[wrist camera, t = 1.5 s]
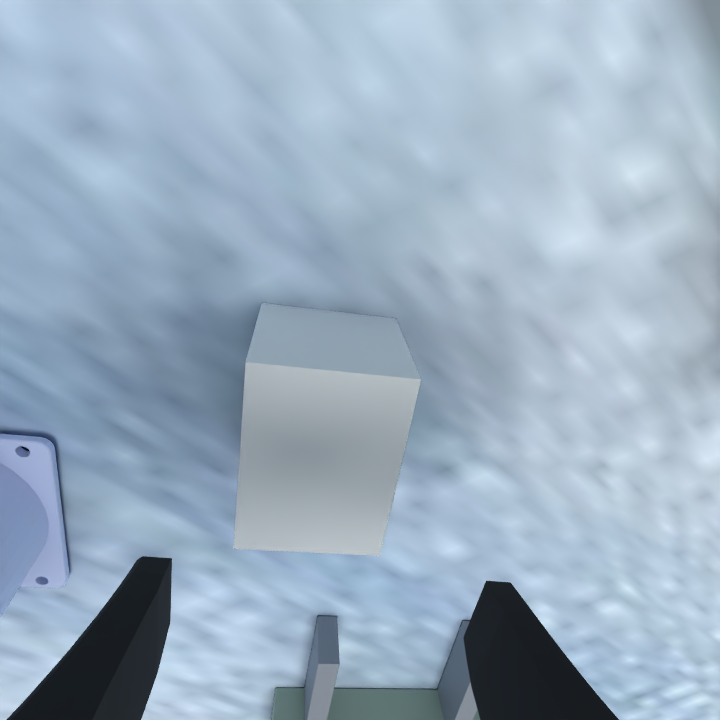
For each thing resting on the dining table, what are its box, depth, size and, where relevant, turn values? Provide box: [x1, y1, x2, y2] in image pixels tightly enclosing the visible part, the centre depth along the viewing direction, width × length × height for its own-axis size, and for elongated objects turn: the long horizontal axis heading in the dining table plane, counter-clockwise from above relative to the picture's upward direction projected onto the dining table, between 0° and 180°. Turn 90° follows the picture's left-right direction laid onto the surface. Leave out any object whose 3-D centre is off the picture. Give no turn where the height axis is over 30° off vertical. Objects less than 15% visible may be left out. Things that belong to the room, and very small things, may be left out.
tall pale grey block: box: [234, 303, 421, 556], centre depth 18 cm, size 5×7×5 cm
